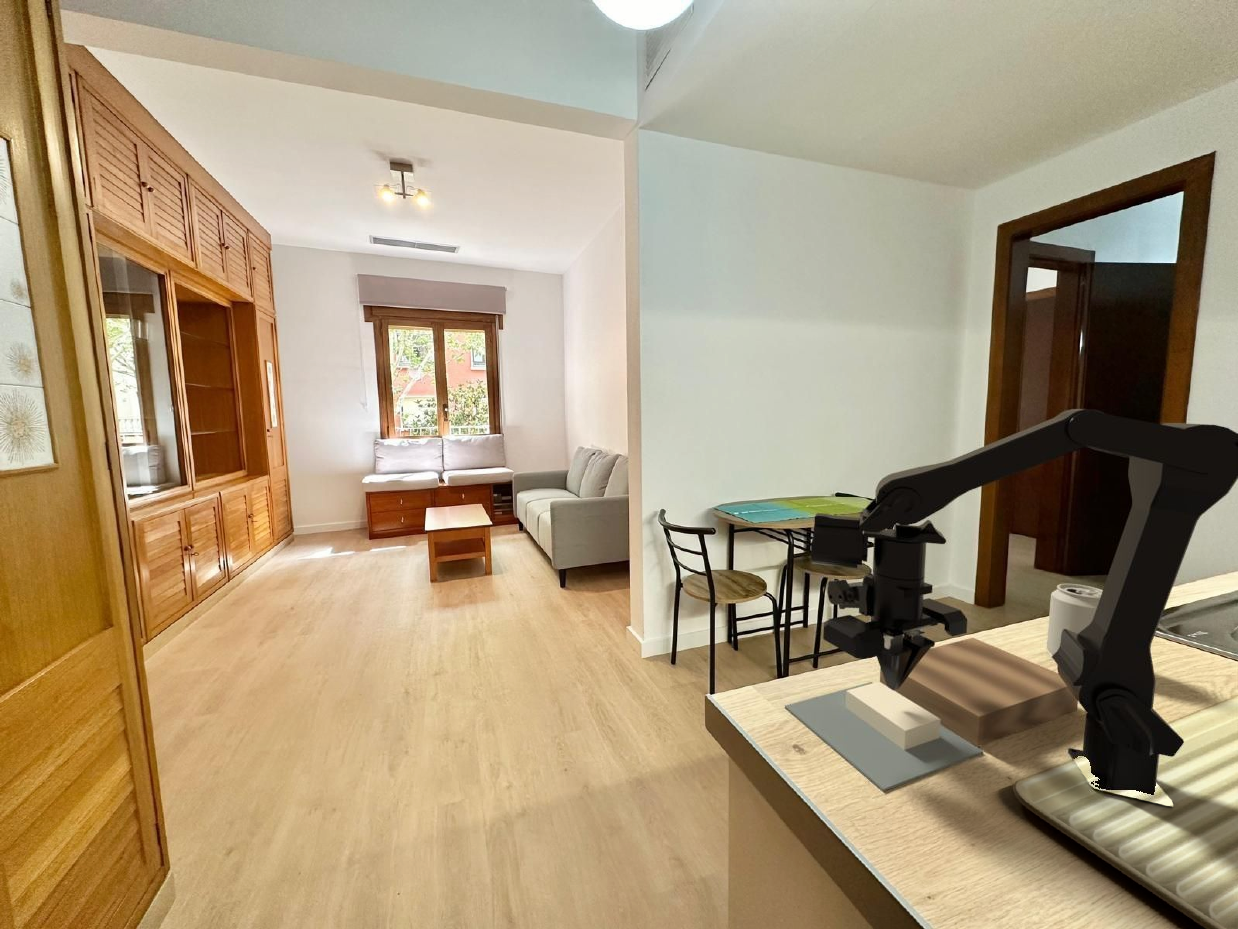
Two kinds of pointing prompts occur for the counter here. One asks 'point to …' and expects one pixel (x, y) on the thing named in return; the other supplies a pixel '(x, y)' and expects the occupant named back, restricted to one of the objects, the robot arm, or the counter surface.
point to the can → (1070, 611)
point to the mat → (877, 743)
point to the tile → (893, 715)
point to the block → (985, 691)
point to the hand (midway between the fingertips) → (892, 688)
